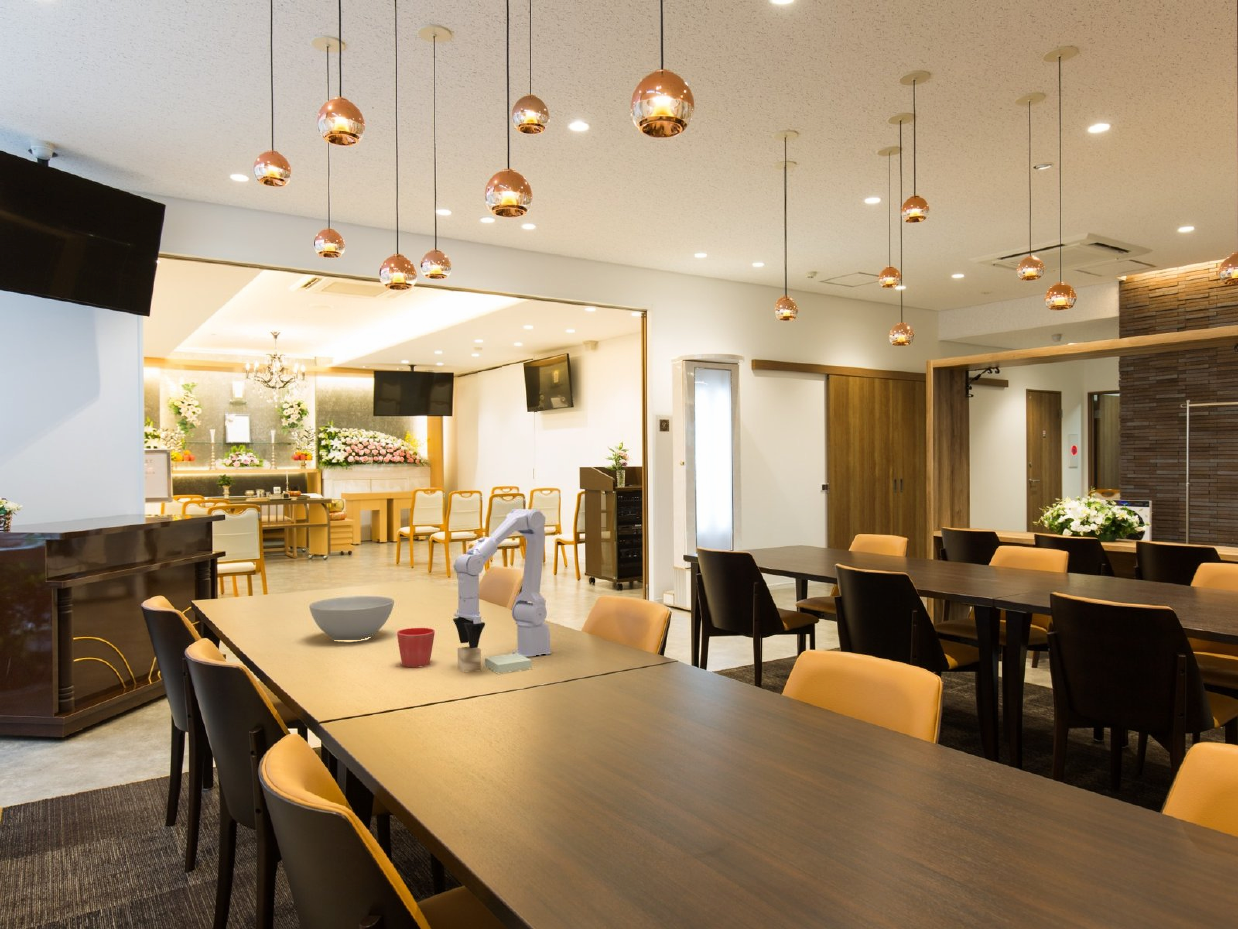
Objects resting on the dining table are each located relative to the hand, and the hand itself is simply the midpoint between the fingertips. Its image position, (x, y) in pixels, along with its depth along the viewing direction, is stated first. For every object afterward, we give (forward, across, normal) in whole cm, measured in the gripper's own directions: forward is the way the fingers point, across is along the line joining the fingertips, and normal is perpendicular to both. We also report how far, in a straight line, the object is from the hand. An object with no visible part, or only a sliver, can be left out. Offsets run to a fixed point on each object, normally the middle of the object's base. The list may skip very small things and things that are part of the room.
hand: (468, 645), depth 229 cm
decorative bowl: (+7, -60, -19) cm, 63 cm away
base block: (+7, +4, +10) cm, 13 cm away
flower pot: (+7, -14, -11) cm, 19 cm away
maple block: (+7, 0, 0) cm, 7 cm away
